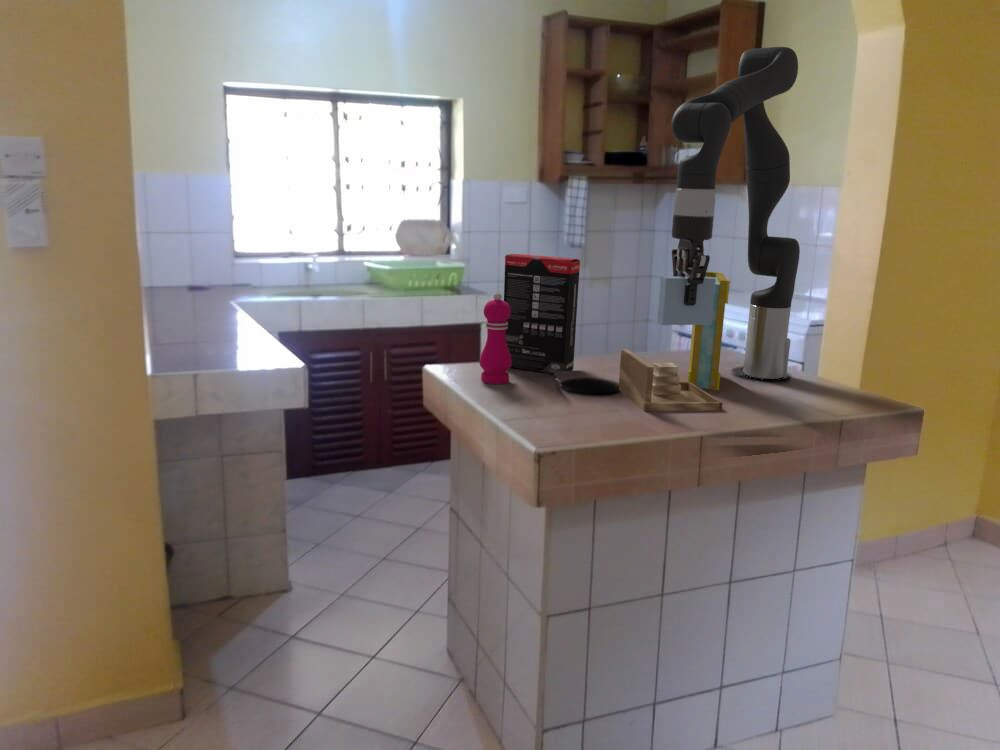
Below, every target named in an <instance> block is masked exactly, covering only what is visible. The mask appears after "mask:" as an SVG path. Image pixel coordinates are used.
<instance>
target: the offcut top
mask: <svg viewBox="0 0 1000 750" xmlns="http://www.w3.org/2000/svg"><path fill="white" fill-rule="evenodd" d="M652 366H653V367H654V373H655V374H657V375H658V376H677V375H679V374H678V373H679V366H678V365H677V364H676V365H675V363H672V362H653V364H652Z"/></svg>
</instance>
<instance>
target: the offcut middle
mask: <svg viewBox="0 0 1000 750" xmlns="http://www.w3.org/2000/svg"><path fill="white" fill-rule="evenodd" d="M679 382H680V375H679V374H677V376H658V375H657V374H655V373H654V372H653V384H655V385H656V386H662V385H679Z"/></svg>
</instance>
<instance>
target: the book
mask: <svg viewBox="0 0 1000 750" xmlns="http://www.w3.org/2000/svg"><path fill="white" fill-rule="evenodd" d="M705 277H712V278H715V279H716V282H715V292H714V303H713V314H712V325H691V326H692V327H691V335H690V337H691V339H690V348H689V349H690V350H689V358H688V361H689V362H688V370H687V371H688V372H687V374H688V375H687V382H691V383H693V384H694V385H696V386H697V387H699V388H700V389H704V390H705V389H708V390H714V391H720V383H721V372H719V369H720V361H721V352H722V351H721V350H722V340H723V329H724V321H725V320H724V319H725V311H726V304H728V302H729V295H730V293H729V292H730V283H731V282H730V279H729V278H727V277H726V276H725V274H724V273H723V272H717V271H716V272H715V271H706V275H705Z"/></svg>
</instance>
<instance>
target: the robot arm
mask: <svg viewBox="0 0 1000 750" xmlns="http://www.w3.org/2000/svg"><path fill="white" fill-rule="evenodd" d="M737 73H738V75H737V77H735V78H733V79H730V80H728V81H725V82H724V83H723V84H721V85H719V86H718V87H716V88H715V89H714V90H712V91H711V92H710V93H707V94H705V95H704V94H703V95H701V96H698V97H695V98H692V99H690V100H688V101H685V102H683V103H682V104H681V105H679V107H678V108H676V110H675V111H674V114H673V116H672V119H671V125H670V126H671V131H672V134H673V135H674V137H675V138H676V139H677V140H678V141H679V142H682V143H687V144H690V143H691V144H692V143H694V144H696V143H697V144H700V143H702V146H701V148H700V149H699V151H698V152H697V153H695V154H692V155H688V156H685V157H682V158H681V159H680V160H679V162H678V168H677V177H676V178H677V179H676V192H675V196H674V200H673V211H672V212H673V214H672V225H671V228H672V229H671V237H672V238H673V239H677V240H679V242H678V245H677V248H675V249H671V250H672V251H671V260H672V261H671V262H672V263H671V264H672V273H673V274H672V276H679V277H685V285H686V286H685V293H684V305H687V306H694V305H695V304H696V295H697V286H699V284H703V282H704V278H705V275H706V272H708V267H709V264H710V255H709V254H708V255H706V254H705V252H704V251H705V248H704V241H708V240H709V241H710V240H711V239H712V238H713V231H714V230H713V229H714V217H715V207H716V199H715V198H716V195H715V193H716V191H715V189H716V181H717V180H716V179H717V169H718V165H719V161H720V158H721V157H722V155H721V154H722V152H723V149H724V147H725V143H726V141H727V138H728V135H729V134H730V130H731V126H732V125H731V124H732V123H733V122H735V121H736V120H737V119H739V117H741V116H742V118H743V127H744V142H745V144H744V145H745V176H746V177H745V178H746V188H747V201H748V237H747V264H748V268H749V271H750V272H751V273H752V274H753V275H757V276H763V277H764V276H765V277H772V278H773V277H774V278H776V280H775V282H774V284H773V285H772V286H770V287H767V288H763V289H759V290H755V291H753V292H752V293H751V296H750V304H749V313H748V323H747V332H746V339H745V340H746V342H745V349H744V359H743V369H742V373H743V372H744V373H745V374H747V375H751V376H757V377H763V378H771V379H775V378H781V377H784V378H783V379H787V373H788V366H789V357H790V347H791V342H792V341H791V339H790V338H789V337H788V335H789V334H788V333H789V325H790V318H791V310H792V301H793V297H794V292H795V286H796V285H795V284H796V279H797V273H798V268H799V261H800V252H801V250H800V249H801V248H800V247H801V246H800V243H799V241H798V240H797V239H796V238H792V237H782V236H781V237H780V236H770V235H768V224H769V220H770V217H771V216H772V213H773V212H774V209H776V207H777V205H778V204H779V202H780V201H781V199H782V198H783V197H784V194H785V193H786V192H787V189H788V187H789V185H790V181H791V168H790V167H791V165H790V164H791V162H790V159H791V157H790V152H789V149H788V146H787V145H786V143H785V141H784V139H783V138H782V136H781V135H780V133H779V132H778V130H777V129H776V128H775V127H774V125H773V123H772V122H771V120H770V118H769V116H768V114H767V112H766V108H765V103H764V102H765V101H767V100H770V99H772V98H774V97H776V96H779V95H781V94H784V93H786V92H789V90H791V89H792V88H793V86H794V84H795V83H796V81H797V77H798V73H799V61H798V55H797V53H796V52H795V50H793V49H792V48H790V47H786V46H771V47H770V46H769V47H761V48H759V47H757V48H749V49H746V50H745V51H744V52H743V53H742V54H741V56H740V59H739V62H738V71H737Z"/></svg>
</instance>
